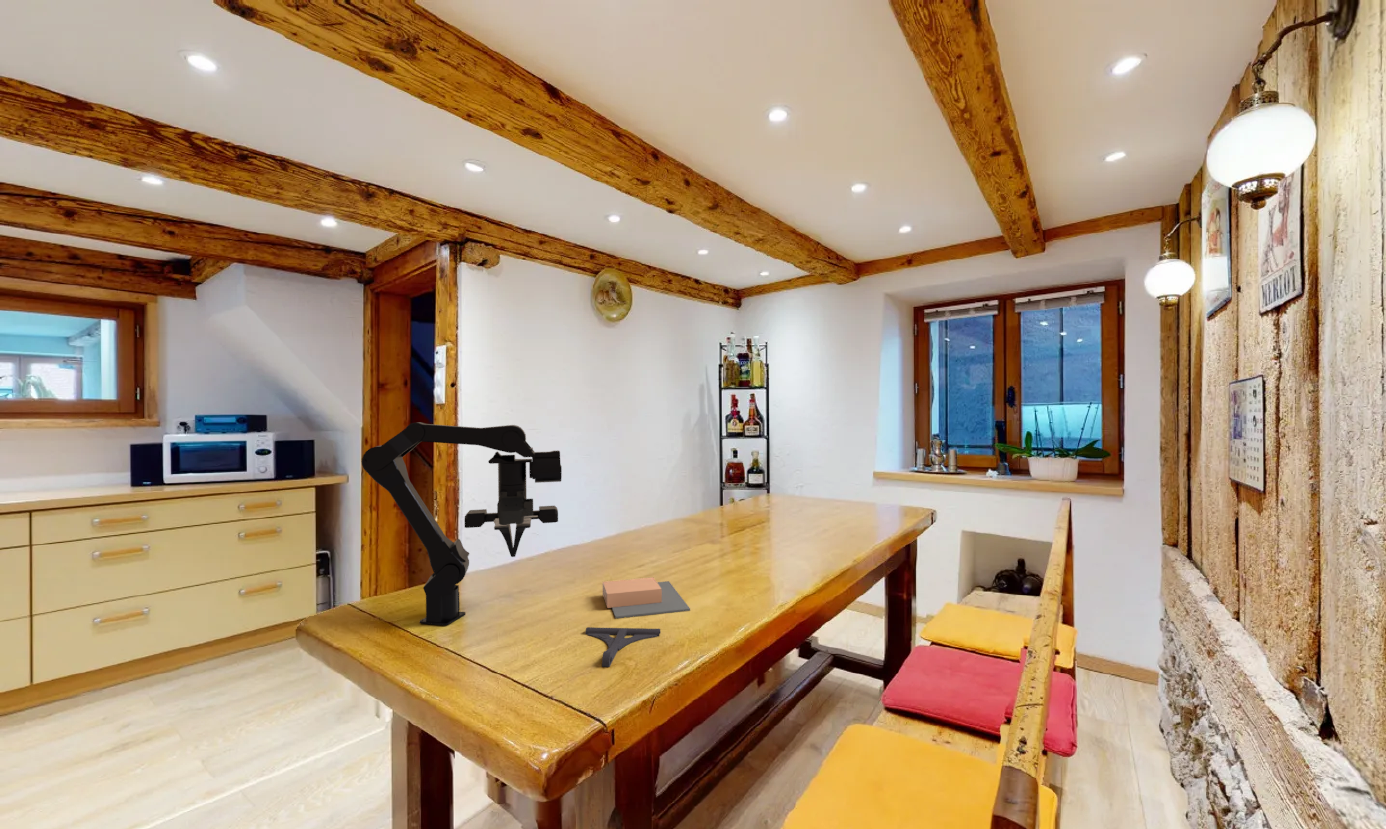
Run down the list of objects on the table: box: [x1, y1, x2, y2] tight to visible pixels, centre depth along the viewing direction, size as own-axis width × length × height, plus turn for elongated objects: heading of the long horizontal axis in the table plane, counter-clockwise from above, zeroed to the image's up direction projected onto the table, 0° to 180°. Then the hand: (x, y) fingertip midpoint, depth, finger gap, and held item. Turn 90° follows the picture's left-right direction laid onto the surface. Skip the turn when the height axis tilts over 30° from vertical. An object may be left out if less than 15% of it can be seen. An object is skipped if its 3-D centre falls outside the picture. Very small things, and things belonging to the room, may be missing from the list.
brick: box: [602, 577, 662, 609], centre depth 126 cm, size 3×9×12 cm
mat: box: [611, 580, 691, 619], centre depth 127 cm, size 16×20×1 cm
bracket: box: [584, 626, 661, 668], centre depth 100 cm, size 14×15×3 cm
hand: (513, 556), depth 119 cm, fingers closed
